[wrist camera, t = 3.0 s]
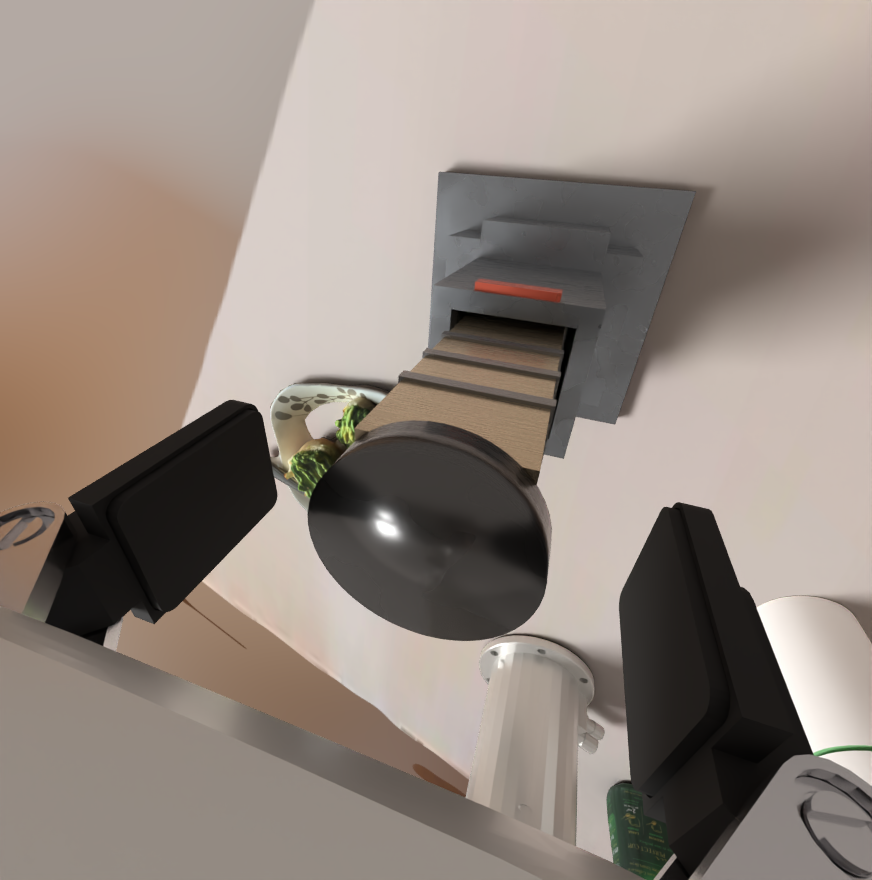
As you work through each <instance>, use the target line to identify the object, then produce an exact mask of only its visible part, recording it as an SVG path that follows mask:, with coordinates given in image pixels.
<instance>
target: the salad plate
mask: <svg viewBox="0 0 872 880" xmlns="http://www.w3.org/2000/svg"><path fill="white" fill-rule="evenodd" d="M389 393H390V392H388V391H386V390H384V389H381V388H378V387H374V386H369V385H359V386H345V385H337V384H330V383H318V384H317V383H305V384H302V383H295V384H293V385H289V386H288V387H287V388H285V389H282V390H281V391H280V392H279V394H278V395H277V397H276V398H275V400H274V401H273V402H272V404H271V406H270V409H271V410H270V417H271V423H272V427H273V431H274V434H275V438H276V441H277V445H278V448H279V456H277V457H270V458H271V464H272V469H273V474H274V477H275V478H276V479H278V480H280V481H281V482H283V483H285V484H286V485H288V487H289V489H290V491H291V493H292V494H293V496H294V498H295V499H296V500H297V502H298V503H299V504H300V505H301V506H302V507H303V508H304V509H305V510H306V511H307V512H308V506H309V501H310V498H311V494H312V492H313V490H314V488H315V486H316V484H317V482H318V481H319V480H320V479H321V477H322V476H323V475H324V474H325V473H326V472H327V470H328V469H329V468H330V467H331V466H332V465H333V464H334V463H335V462H336V461H337V460H338V459H339V458H340V457H341V455H342V454H343V453H344V452H345V451H346V450H347V449H348V448H349V447H350V446H351V445H352V444H353V443H354V442H355V432H354V428H355V427H356V426H357V425H358V424H359V423H360V422H361V421H362V420H363V419H364V418H365V417H366V416H367V415H368V414H369V413H370V412H371V411H372V410H373V409H374V408H375V407H376V406H377V405H378V404H379V403H380V402H381V401H382V400H383V399H384V398H385V397H386V396H387V395H388V394H389ZM330 402H349V403H348V404H347V405H346V407H345V408H344V410H343V412H344V414H343V418H342V419H340V420H336V422H335V425H336V426H337V427H339V428H340V429H339V430H338V431H337V433H336V436H337V437H336V438H333V439H331V440H328V439H326V438H325V437H322V438H320V439H313V438H312V437H311V435H310V433H309V431H308V429H307V426H306V423H305V419H306V417H307V416H308V414H309V413H310V412H311V411H313V410H314V409H316V408H317V407H319V406H320V405H323V404H326V403H330Z"/></svg>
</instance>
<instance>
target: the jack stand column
mask: <svg viewBox="0 0 872 880" xmlns="http://www.w3.org/2000/svg"><path fill="white" fill-rule="evenodd" d="M566 331H567V327H565V326H558V325H551V324H545V323H538V322H532V321H525V320H519V319H512V318H506V317H499V316H493V315H486V314H480V313H473V312H468V313H467V314H466V315H465V316H464V317H463V318H462V319H461V320H460V321H459V322H458V324H457V325H456V326H455V327H454V328H453V329H452V330H451V331H444V332H443V333H442V335H441V341H440V342H439V343H438V344H437V345H436V346H435V347H434V348H433V349H429V348H427V349H426V350H425V351H424V352H423V359H422V360H421V361H420V362H419V363H418V364H417V365H416V366H415V367H414V368H413V369H412V370H411V371H410V372H409V371H403V372H402V373H401V374H400V375H399V383H398V384H397V385H396V386H395V387H394V388H393V389H392V390H391V392H390V393H389V394H388V395H387V396H386V397H385V398H384V399H383V400H382V401H381V402H380V403H379V404H378V405H377V406H376V407H375V408H374V409H373V410H372V411H371V412H370V413H369V414H368V415H367V416H366V417H365V418H364V419H363V420H362V421H361V422H360V423H359V424H358V425H357V426H356V427H355V428H354V432H355V442H354V443H353V444H352V445H351V446H350V447H349V448H348V449H347V450H346V451H345V452H344V453H343V454H342V455H341V457H340V458H339V459H338V460H337V461H336V462H335V463H334V464H333V465H332V466H331V467H330V468H329V469H328V470H327V472H326V473H325V474H324V475H323V476H322V477H321V479H320V480H319V481H318V482H317V484H316V486H315V488H314V490H313V492H312V494H311V498H310V501H309V506H308V526H309V531H310V536H311V539H312V542H313V544H314V547H315V549H316V551H317V553H318V556H319V558H320V559H321V561H322V562H323V564H324V566H325V567H326V569H327V570H328V571H329V573H330V574H331V575H332V577H333V578H334V579H335V580H336V581H337V582H338V584H339V585H340V586H341V587H342V588H343V589H344V590H345V591H346V592H347V593H349V594H350V595H351V596H352V597H353V598H354V599H355V600H357V601H358V602H359V603H360V604H362V605H363V606H364V607H366V608H367V609H369V610H370V611H372V612H373V613H375V614H376V615H378V616H380V617H382V618H384V619H385V620H387V621H389V622H391V623H393V624H396V625H398V626H400V627H402V628H405V629H407V630H410V631H413V632H416V633H419V634H422V635H426V636H430V637H435V638H439V639H447V640H457V641H473V640H483V639H489V638H494V637H497V636H500V635H504V634H506V633H508V632H510V631H513V630H515V629H516V628H518V627H519V626H521V625H522V624H524V623H525V622H526V621H527V620H528V619H529V618H530V617H531V616H532V615H533V614H534V613H535V611H536V610H537V609H538V607H539V606H540V603H541V601H542V599H543V597H544V594H545V589H546V584H547V576H548V566H549V557H550V548H551V534H552V527H551V520H550V514H549V511H548V508H547V505H546V502H545V500H544V498H543V496H542V494H541V492H540V490H539V488H538V487H537V481H538V477H539V473H540V468H541V463H542V459H543V455H544V451H545V447H546V443H547V439H548V435H549V431H550V427H551V423H552V419H553V415H554V411H555V407H556V401H557V400H555V396H556V392H557V388H558V384H559V380H560V376H561V372H560V368H561V364H562V360H563V356H564V350H562V347H563V343H564V339H565V335H566Z"/></svg>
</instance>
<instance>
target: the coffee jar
mask: <svg viewBox="0 0 872 880" xmlns="http://www.w3.org/2000/svg"><path fill="white" fill-rule="evenodd" d="M607 814H608V823H609V832H610V839H611V847H612V855H613V863H614V864H616V865H618V866H620V867H622V868H624V869H626V870H628V871H630V872H632V873H634V874H636V875H638V876H640V877H641V878H643V879H645V880H653V879H654V878H655V877H656V876H657V874H658V873H659V872H660V871H661V869H662V868H663V867H664V865H665V864H666V863H667V862H668V860H669V859H670V858H671V857H672V855H673V854H674V853H673V851H672V850H671V848H670V847H669V843H668V834H667V826H666V823H664V822H661V821H658V820H656V819H653V818H651V817H648V816H646V815H644V811H643V799H642V793H641V792H639V791H636V790H635V789H634V788H633V786H632V784H628V783H620V784H618V785H614V786H612V787H611V788H610V789H609V792H608V794H607Z"/></svg>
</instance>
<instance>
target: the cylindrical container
mask: <svg viewBox="0 0 872 880" xmlns="http://www.w3.org/2000/svg"><path fill="white" fill-rule="evenodd" d="M757 610H758V613H759V615H760V618H761V621H762V623H763V626H764V628H765V631H766V633H767V636H768V639H769V641H770V644H771V646H772V649H773V651H774V654H775V657H776V659H777V662H778V664H779V667H780V669H781V672H782V675H783V677H784V680H785V682H786V685H787V687H788V690H789V693H790V695H791V698H792V700H793V703H794V705H795V708H796V710H797V713H798V716H799V718H800V721H801V723H802V726H803V728H804V731H805V734H806V736H807V739H808V741H809V744H810V746H811V749H812V752H813V754H814V756H818V757H822V758H826V759H829V760H831V761H833V762H835V763H837V764H839V765H841V766H843V767H845V768H847V769H849V770H851V771H852V772H853V773H855V774H856V775H857V776H859V777H860V778H861V779H863V780H864V781H865V782H867V783H868V784H870V785H871V786H872V643H871V642H870V640H869V638H868V637H867V635H866V633H865V632H864V630H863V629H862V627H861V625H860V624H859V622H858V621H857V619H856V617H855V616H854V615H853V614H852V612H850V611H849V610H848V609H847V608H845V607H844V606H842V605H840V604H838V603H836V602H833V601H830V600H828V599H823V598H819V597H811V596H789V597H782V598H778V599H774V600H771V601H768V602H766V603H764V604H762V605H760V606H759V607H757Z"/></svg>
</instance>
